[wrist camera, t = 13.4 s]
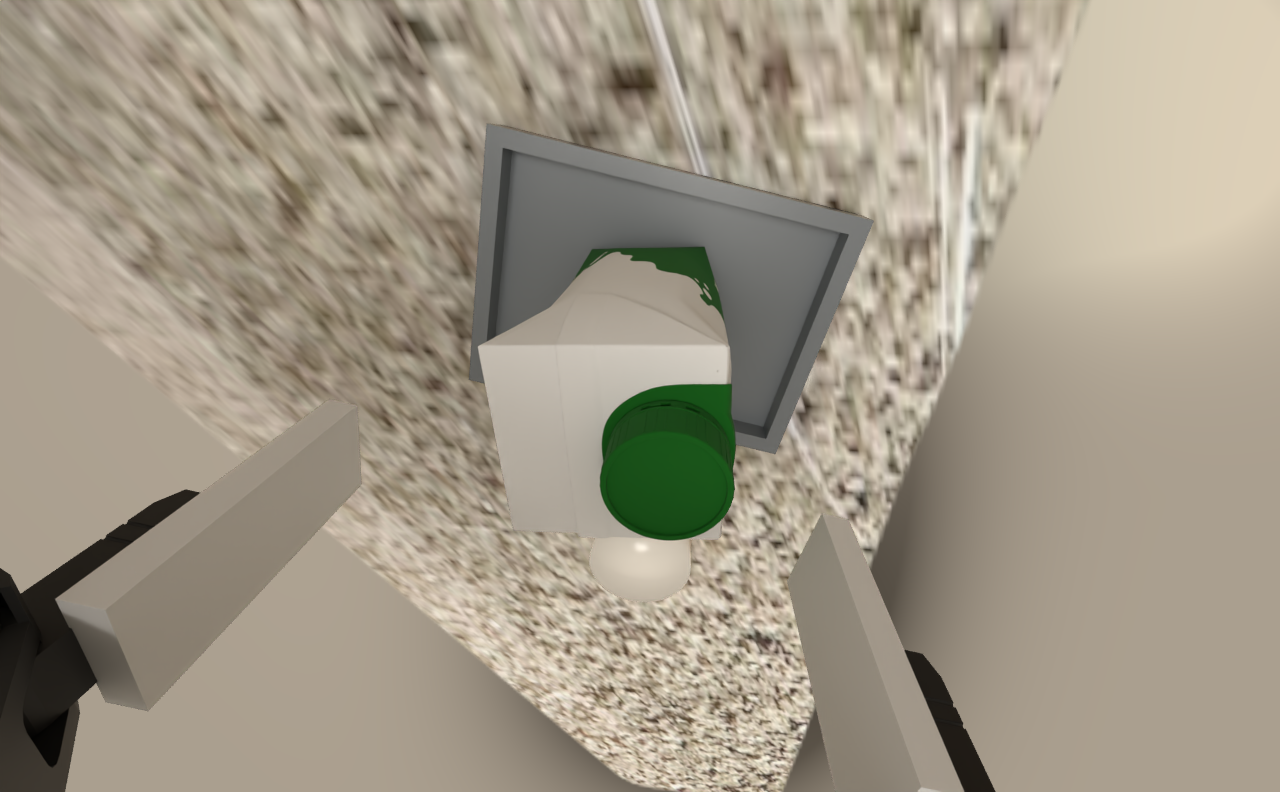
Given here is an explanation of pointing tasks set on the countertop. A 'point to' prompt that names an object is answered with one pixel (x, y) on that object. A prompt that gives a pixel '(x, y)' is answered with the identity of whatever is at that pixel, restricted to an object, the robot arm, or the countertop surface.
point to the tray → (659, 218)
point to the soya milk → (618, 402)
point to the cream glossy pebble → (641, 567)
